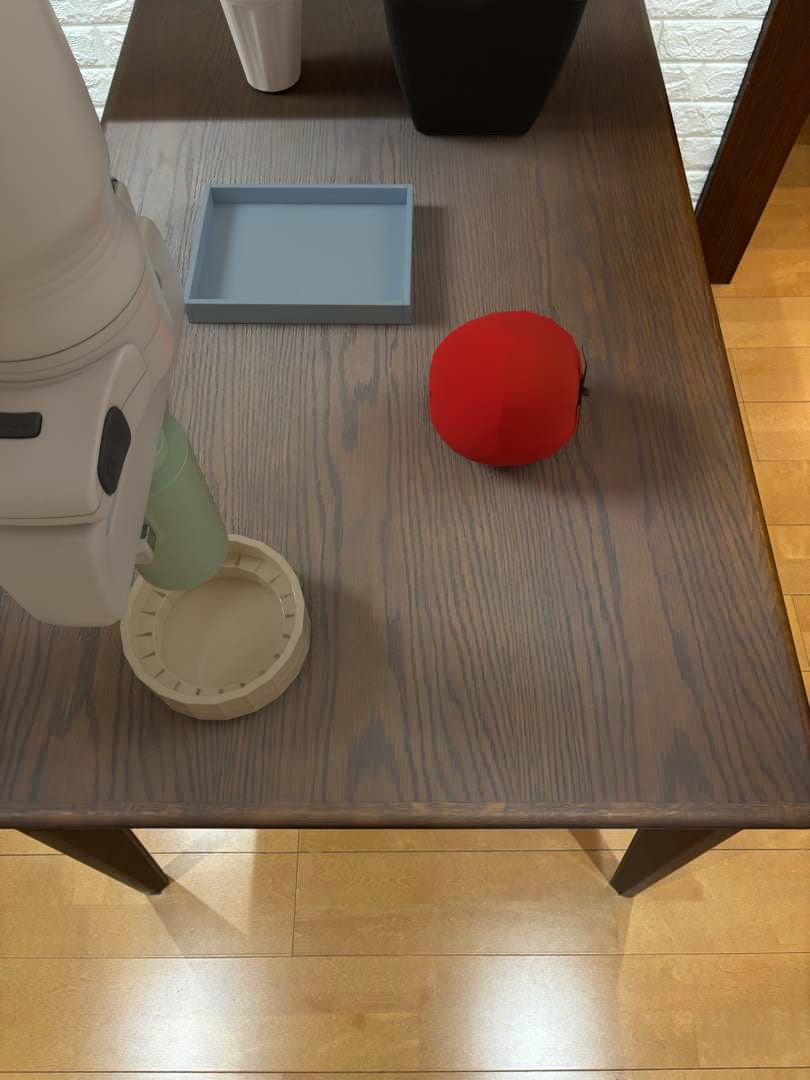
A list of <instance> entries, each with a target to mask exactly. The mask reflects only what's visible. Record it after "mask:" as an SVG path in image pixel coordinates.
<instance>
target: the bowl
mask: <svg viewBox="0 0 810 1080" xmlns="http://www.w3.org/2000/svg"><path fill="white" fill-rule="evenodd" d="M227 534H228V540H229V547H228V553H227V556H226V559H225V561H224V563H223V565H222V566H221V568H220V569H219V570H218V572H217V573H216V574H215V575H214V576H213V577H212V578H210V579H209V580H208V581H206V582H205V583H203V584H201V585H199V586H197V587H194V588H191V589H187V590H182V591H169V590H164V589H160V588H157V587H155V586H153V585H151V584H150V583H148V582H147V581H146V580H145V579H144V578H143V577H142V576H141V575H140V574H139V573H138V575H137V577H136V579H135V580H134V583H133V585H131V587H130V592H129V598H128V604H127V609H126V612H125V614H124V615H123V617H122V618H121V619H120V623H119V631H120V639H121V645H122V652H123V655H124V657H125V658H126V661H127V662H128V664H129V666H130V668H131V670H132V671H133V673H134V674H135V676H136V677H137V679H138V680H139V681H140V682H141V683H142V684H143V685H144V686H145V687H146V688H147V689H148V690H149V691H150V692H151V693H152V694H153V695H154V696H155V697H157V698H158V699H159V700H160V701H161V702H163V703H164V704H165V705H166V706H167V707H168V708H170V709H171V710H172V711H174V712H177V713H179V714H182V715H184V716H185V715H186V716H188V717H192V718H193V719H197V720H200V721H201V720H203V721H204V720H205V721H206V720H207V721H229V720H232V719H235V718H240V717H242V716H247V715H250V714H253V713H255V712H258V711H259V710H261V709H262V708H264V707H265V706H267V705H268V704H270V703H272V702H273V701H275V700H276V699H278V698H279V697H281V695H283V693H284V692H285V691H286V690H287V689H288V687H289V686H291V684H292V683H293V682H294V680H295V679H296V678H297V676H299V674H300V672H301V669H302V667H303V665H304V663H305V661H306V657H307V655H308V653H309V651H310V645H311V644H310V642H311V632H312V631H311V630H312V622H311V617H310V613H309V609H308V606H307V602H306V598H305V595H304V592H303V589H302V586H301V582H300V580H299V577H298V575H297V574H296V572H295V571H294V569H293V568H292V567H291V565H290V564H289V563H288V562H287V560H286V558H285V557H284V556H283V555H281V554H280V553H279V552H278V551H276V550H275V549H273V548H272V547H270V546H269V545H267V544H266V543H264V542H263V541H260V540H256V539H254V538H251V537H247V536H245V535H241V534H236V533H227Z"/></svg>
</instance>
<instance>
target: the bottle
mask: <svg viewBox="0 0 810 1080" xmlns="http://www.w3.org/2000/svg"><path fill="white" fill-rule="evenodd" d="M203 473H204V472H203V471H202V469H201V466H200V463H199V462H198V459H197V457H196V454H195V452H194V449H193V448H192V444H191V443H190V440H189V437H188V434H187V433H186V431H185V428H184V427H183V425H182V424H181V423H180V421H179V420H178V419H177V418H176V417H175V416H174V417H173V416H172V415H171V414H169V413H167V412H166V411H165V415H164V420H163V425H162V427H161V430H160V435H159V440H158V445H157V450H156V455H155V466H154V471H153V476H152V481H151V486H150V491H149V496H148V501H147V506H146V511H145V517H144V522H143V525H149V526H150V527H151V529H152V531H153V535H155V536H156V544H155V550H154V555H153V560H152V563H150V564H135V567H134V569H136V571H137V572H138V575H139V574H140V575H141V576H142V577H143V578H144V579H145V580H146V581H147V582H148V583H150V584H151V585H153V586H155V587H157V588H160V589H164V590H169V591H182V590H187V589H191V588H194V587H197V586H199V585H201V584H203V583H205V582H206V581H208V580H209V579H210V578H212V577H213V576H214V575H215V574H216V573H217V572H218V570H219V569H220V568H221V566H222V565H223V563H224V561H225V559H226V556H227V553H228V547H229V540H228V534H229V533H228V531H227V528H226V526H225V524H224V522H223V519H222V516H221V515H220V512H219V509H218V507H217V505H216V502H215V500H214V497H213V494H212V493H211V490H210V488H209V486H208V484H207V481H206V479H205V476H204V474H203Z"/></svg>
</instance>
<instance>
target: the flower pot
mask: <svg viewBox="0 0 810 1080" xmlns="http://www.w3.org/2000/svg"><path fill="white" fill-rule="evenodd" d="M382 3H383V10H384V11H383V12H384V17H385V22H386V28H387V34H388V40H389V45H390V49H391V54H392V59H393V63H394V67H395V72H396V76H397V79H398V82H399V86H400V89H401V92H402V97H403V99H404V102H405V105H406V108H407V111H408V114H409V117H410V119H411V122H412V123H413V124H412V125H413V127H414V129H415V130H416V132H417V133H420V134H424V135H524V134H527V133H529V132H530V130H531V129H532V128H533V125H534V124H535V123H536V121H537V120H538V118H539V116H540V115H541V113H542V111H543V109H544V107H545V106H546V104H547V102H548V100H549V98H550V97H551V94H552V92H553V90H554V88H555V86H556V84H557V82H558V80H559V77H560V76H561V73H562V71H563V69H564V66H565V64H566V62H567V59H568V57H569V54H570V52H571V49H572V46H573V44H574V42H575V39H576V36H577V33H578V30H579V28H580V25H581V22H582V20H583V16H584V13H585V10H586V7H587V4H588V0H382Z"/></svg>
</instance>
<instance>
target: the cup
mask: <svg viewBox="0 0 810 1080" xmlns="http://www.w3.org/2000/svg"><path fill="white" fill-rule="evenodd" d="M219 1H220V4H221V7H222V11H223V13H224V16H225V18H226V22H227V24H228V25H227V26H228V28H229V31H230V34H231V37H232V39H233V43H234V45H235V48H236V51H237V54H238V57H239V60H240V63H241V65H242V68H243V71H244V75H245V78H246V80H247V83H248V84H249V85H250V86H251V87H252V88H253V89H255V90H258V91H262V92H269V93H274V92H279V91H284V90H286V89H289V88H291V87H293V86H294V85H295V84H297V82H298V81H299V79H300V76H301V72H302V71H301V69H302V68H301V67H302V5H303V2H302V1H303V0H219Z"/></svg>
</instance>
